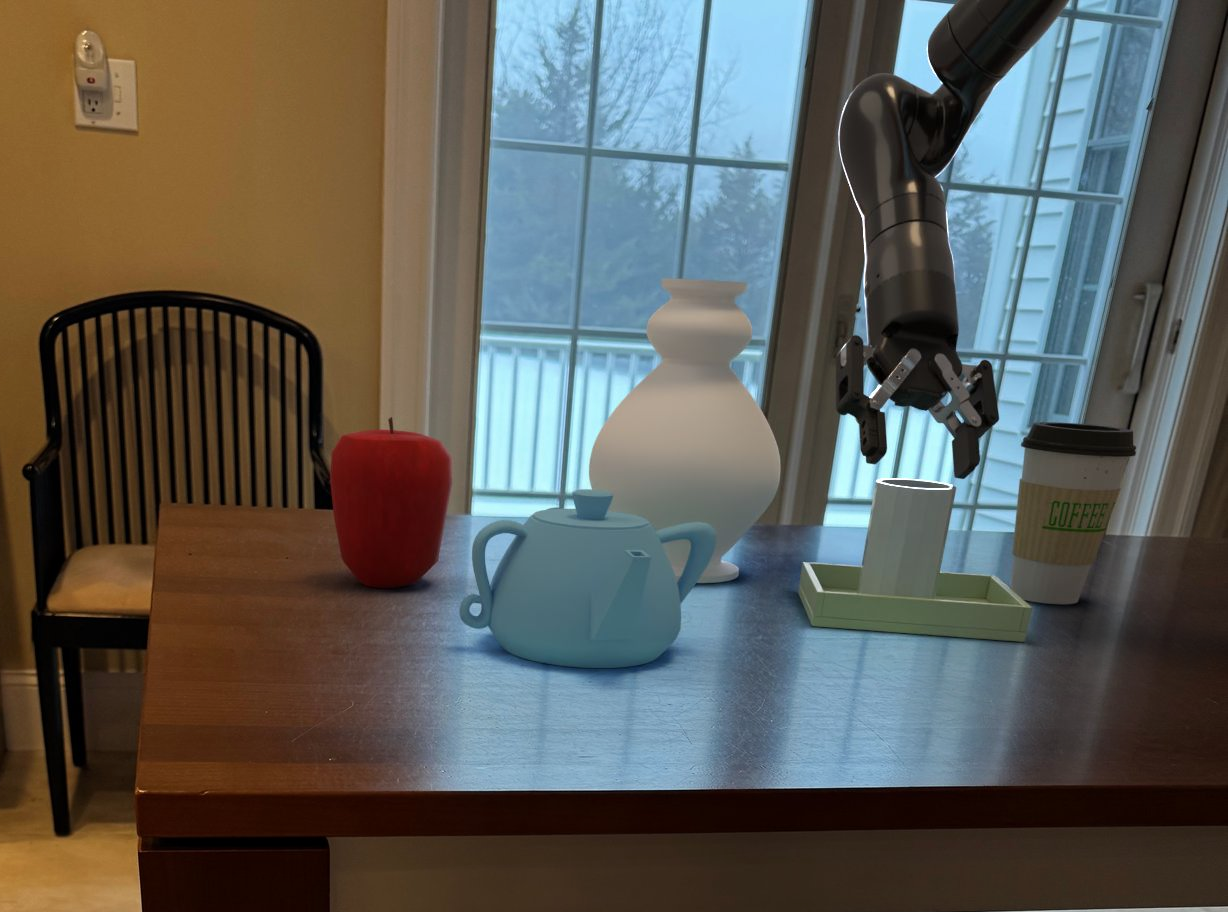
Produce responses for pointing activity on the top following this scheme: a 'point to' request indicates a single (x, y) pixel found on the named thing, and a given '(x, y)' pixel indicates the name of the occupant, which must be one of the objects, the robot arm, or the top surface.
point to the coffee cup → (1065, 506)
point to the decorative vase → (691, 429)
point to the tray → (915, 605)
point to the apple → (390, 504)
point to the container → (906, 538)
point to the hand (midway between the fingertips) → (921, 466)
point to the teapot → (586, 585)
